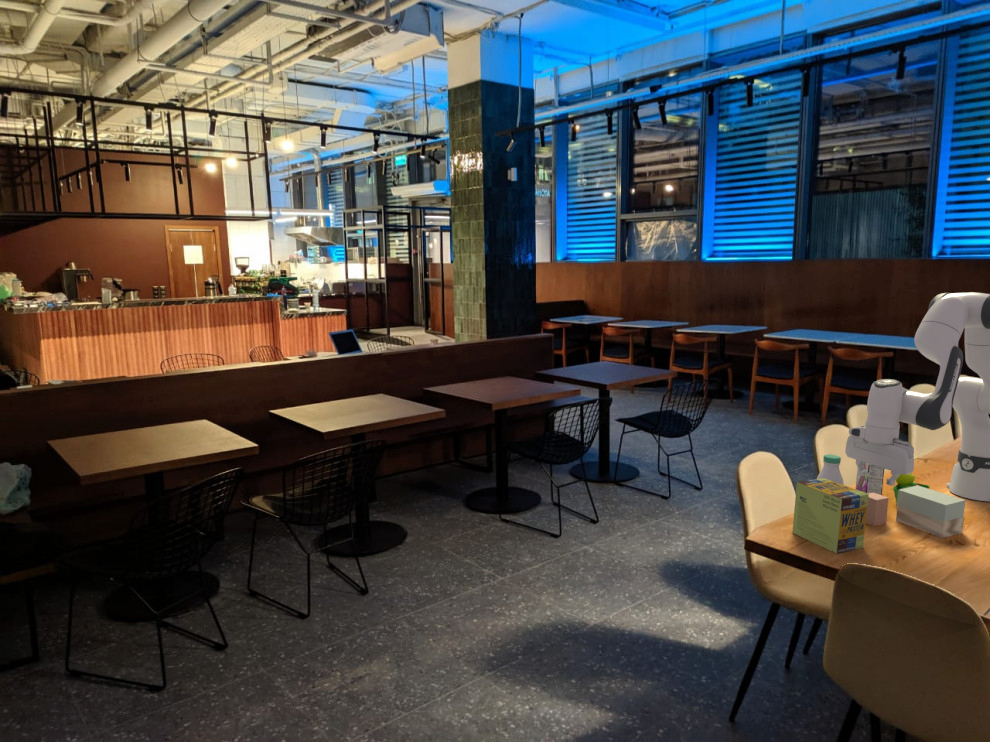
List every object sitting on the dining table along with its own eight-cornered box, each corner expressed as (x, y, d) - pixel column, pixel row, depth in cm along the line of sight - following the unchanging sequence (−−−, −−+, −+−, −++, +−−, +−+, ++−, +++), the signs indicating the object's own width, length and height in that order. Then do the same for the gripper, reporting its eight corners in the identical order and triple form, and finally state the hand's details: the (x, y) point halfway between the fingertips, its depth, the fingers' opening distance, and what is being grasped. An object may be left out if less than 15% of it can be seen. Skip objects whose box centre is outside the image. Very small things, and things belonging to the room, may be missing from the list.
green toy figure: (916, 509, 217) (920, 475, 215) (886, 501, 223) (889, 468, 222) (929, 501, 224) (932, 467, 222) (899, 493, 231) (902, 461, 229)
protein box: (836, 554, 184) (842, 499, 181) (791, 533, 198) (795, 481, 195) (864, 548, 188) (870, 493, 185) (818, 527, 202) (822, 476, 199)
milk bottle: (807, 515, 211) (812, 452, 208) (831, 515, 212) (837, 452, 208) (821, 525, 203) (827, 460, 200) (846, 524, 204) (852, 459, 201)
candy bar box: (853, 493, 231) (858, 446, 228) (870, 494, 230) (874, 446, 227) (864, 505, 220) (869, 455, 217) (881, 506, 219) (886, 456, 216)
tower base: (915, 516, 211) (917, 501, 210) (962, 533, 199) (964, 517, 198) (895, 521, 208) (897, 505, 207) (941, 538, 195) (943, 522, 194)
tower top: (915, 501, 211) (917, 485, 210) (963, 516, 198) (965, 500, 197) (896, 505, 207) (898, 489, 206) (944, 522, 194) (946, 505, 193)
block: (871, 517, 210) (873, 492, 209) (885, 523, 205) (888, 497, 204) (859, 519, 208) (861, 494, 207) (873, 525, 203) (876, 500, 202)
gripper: (922, 442, 194) (916, 489, 196) (859, 426, 212) (854, 469, 215) (906, 444, 191) (900, 492, 194) (844, 427, 210) (839, 471, 212)
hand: (876, 480), depth 204 cm, fingers open, 8 cm apart
